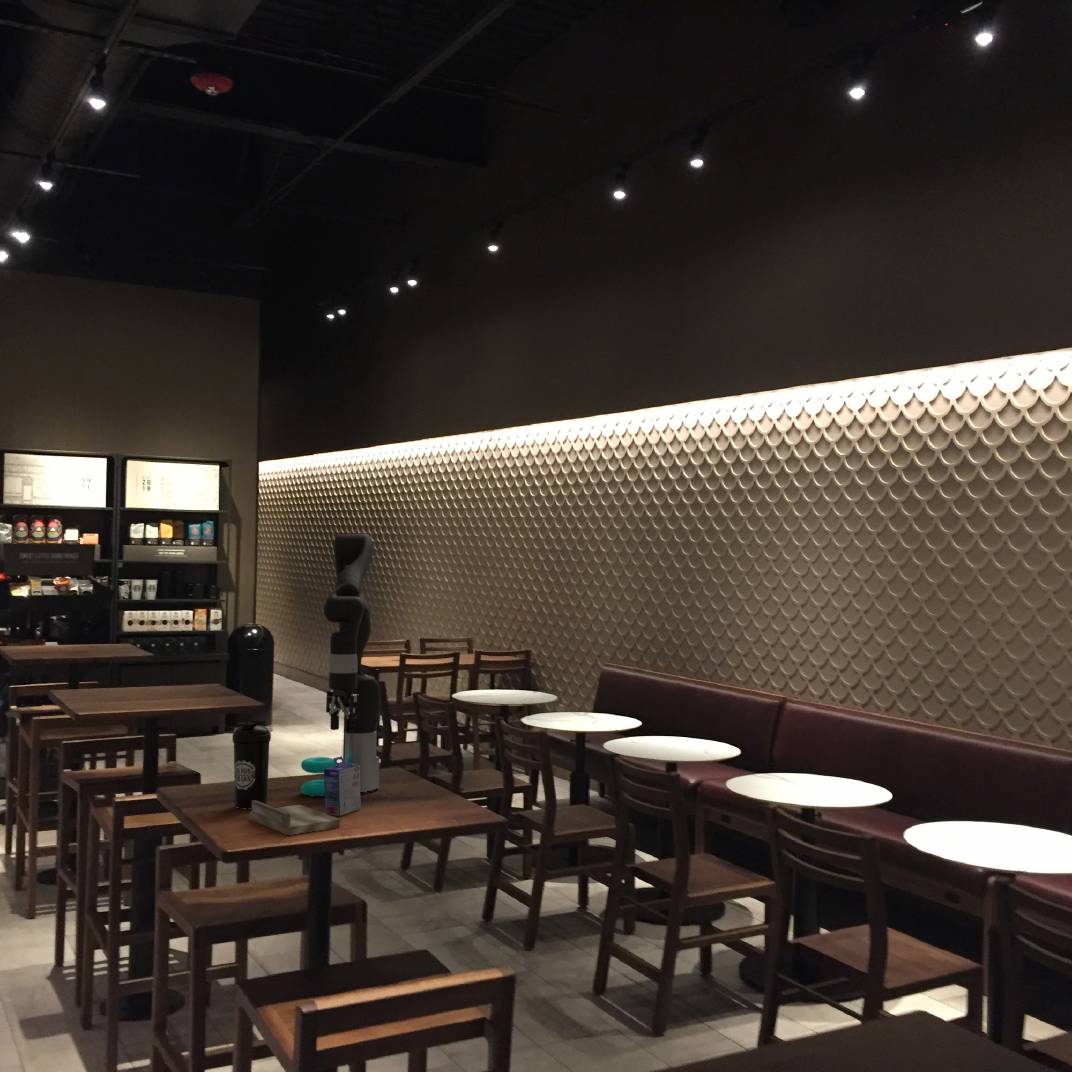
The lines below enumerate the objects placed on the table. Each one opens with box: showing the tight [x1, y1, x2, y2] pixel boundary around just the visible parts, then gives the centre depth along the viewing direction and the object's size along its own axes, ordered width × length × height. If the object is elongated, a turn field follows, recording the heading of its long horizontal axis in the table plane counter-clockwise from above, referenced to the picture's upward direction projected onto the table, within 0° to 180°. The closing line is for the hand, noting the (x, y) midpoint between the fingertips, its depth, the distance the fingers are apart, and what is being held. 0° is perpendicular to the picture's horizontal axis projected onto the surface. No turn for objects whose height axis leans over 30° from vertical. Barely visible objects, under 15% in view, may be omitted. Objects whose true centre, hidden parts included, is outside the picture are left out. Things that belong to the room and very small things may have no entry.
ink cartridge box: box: [323, 755, 362, 817], centre depth 286 cm, size 10×6×14 cm, turn 155°
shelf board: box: [249, 800, 341, 836], centre depth 273 cm, size 14×22×5 cm, turn 39°
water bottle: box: [231, 719, 272, 810], centre depth 293 cm, size 10×10×23 cm
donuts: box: [300, 756, 337, 796], centre depth 309 cm, size 10×10×10 cm
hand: (342, 731), depth 287 cm, fingers open, 8 cm apart
